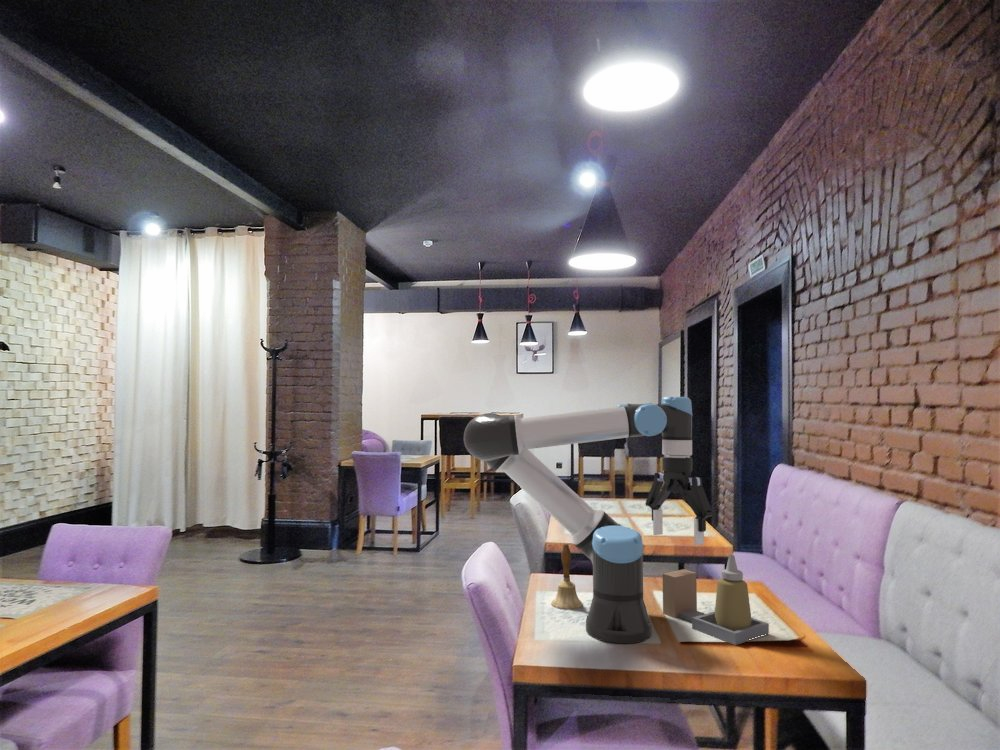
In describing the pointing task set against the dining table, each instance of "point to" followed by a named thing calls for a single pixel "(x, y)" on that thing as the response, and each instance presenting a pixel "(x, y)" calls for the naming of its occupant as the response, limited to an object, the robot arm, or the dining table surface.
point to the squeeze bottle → (732, 599)
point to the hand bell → (566, 585)
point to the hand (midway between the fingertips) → (677, 539)
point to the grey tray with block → (684, 604)
